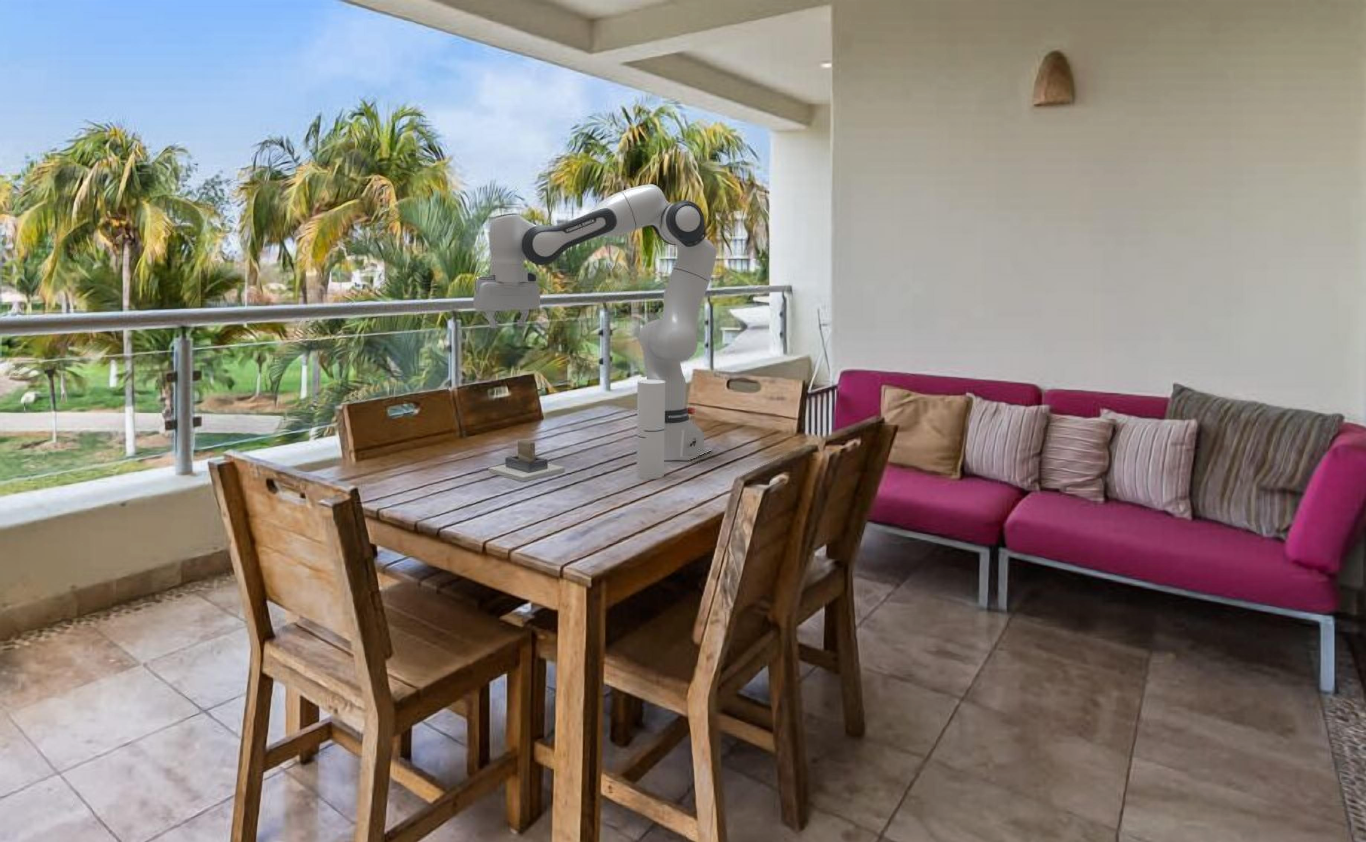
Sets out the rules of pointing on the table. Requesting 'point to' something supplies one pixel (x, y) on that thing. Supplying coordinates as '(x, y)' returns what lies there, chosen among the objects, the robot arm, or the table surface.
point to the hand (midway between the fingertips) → (508, 327)
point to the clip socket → (526, 464)
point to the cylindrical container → (650, 428)
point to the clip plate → (525, 476)
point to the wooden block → (526, 450)
